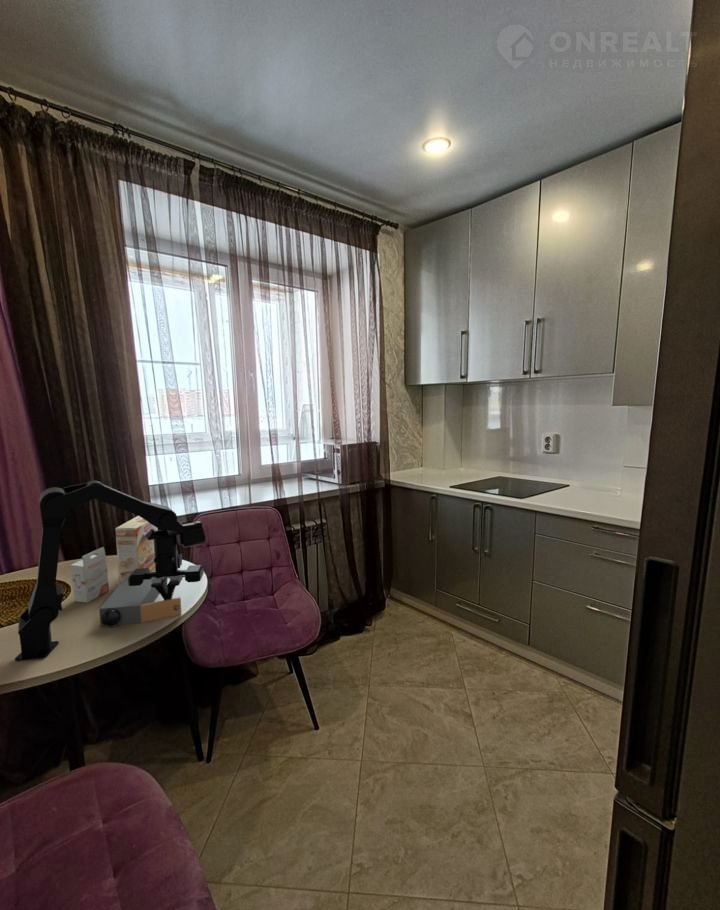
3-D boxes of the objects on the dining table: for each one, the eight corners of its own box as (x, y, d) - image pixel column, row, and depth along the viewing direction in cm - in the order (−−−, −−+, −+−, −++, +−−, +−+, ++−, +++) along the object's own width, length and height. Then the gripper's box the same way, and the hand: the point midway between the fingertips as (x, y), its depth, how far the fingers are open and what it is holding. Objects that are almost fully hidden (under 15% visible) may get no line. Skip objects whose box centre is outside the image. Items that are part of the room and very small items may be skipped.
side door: (141, 623, 113) (140, 607, 112) (141, 621, 114) (140, 604, 114) (181, 615, 118) (180, 599, 117) (181, 612, 119) (180, 597, 118)
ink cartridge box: (96, 588, 134) (92, 545, 132) (109, 590, 133) (106, 546, 131) (73, 601, 125) (68, 555, 123) (87, 603, 124) (82, 556, 122)
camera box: (138, 625, 113) (137, 607, 112) (98, 628, 111) (97, 610, 110) (161, 589, 133) (160, 574, 133) (128, 591, 132) (126, 576, 131)
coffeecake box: (140, 585, 136) (136, 528, 133) (118, 585, 136) (113, 528, 133) (161, 567, 151) (157, 515, 148) (141, 567, 151) (137, 514, 148)
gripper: (206, 539, 126) (208, 588, 128) (139, 542, 123) (143, 592, 125) (198, 553, 115) (201, 606, 117) (125, 557, 112) (129, 611, 114)
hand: (168, 603), depth 119 cm, fingers closed
